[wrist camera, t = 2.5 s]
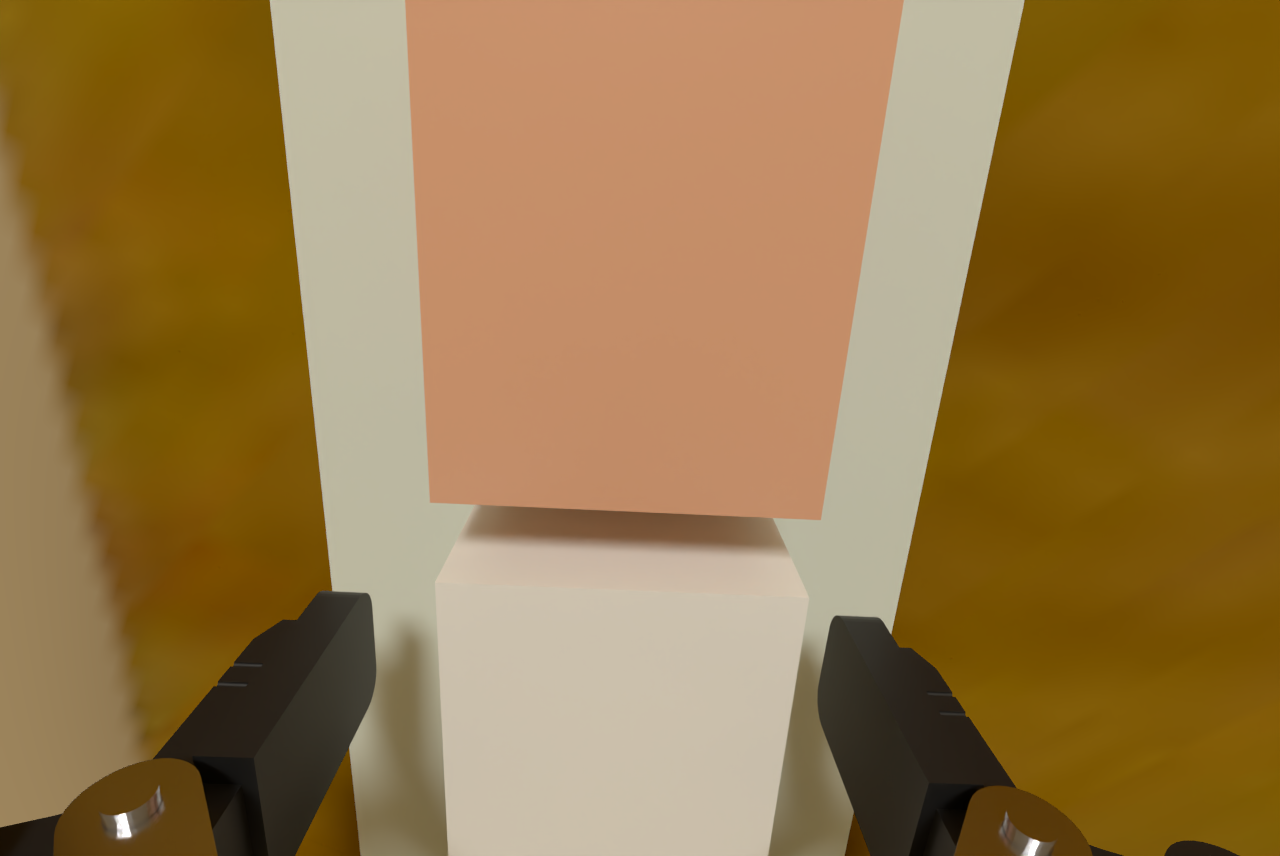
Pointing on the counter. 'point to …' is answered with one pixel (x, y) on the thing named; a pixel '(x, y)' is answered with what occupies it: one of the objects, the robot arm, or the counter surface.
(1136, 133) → the counter surface
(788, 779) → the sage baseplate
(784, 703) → the cream brick
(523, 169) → the terracotta brick
